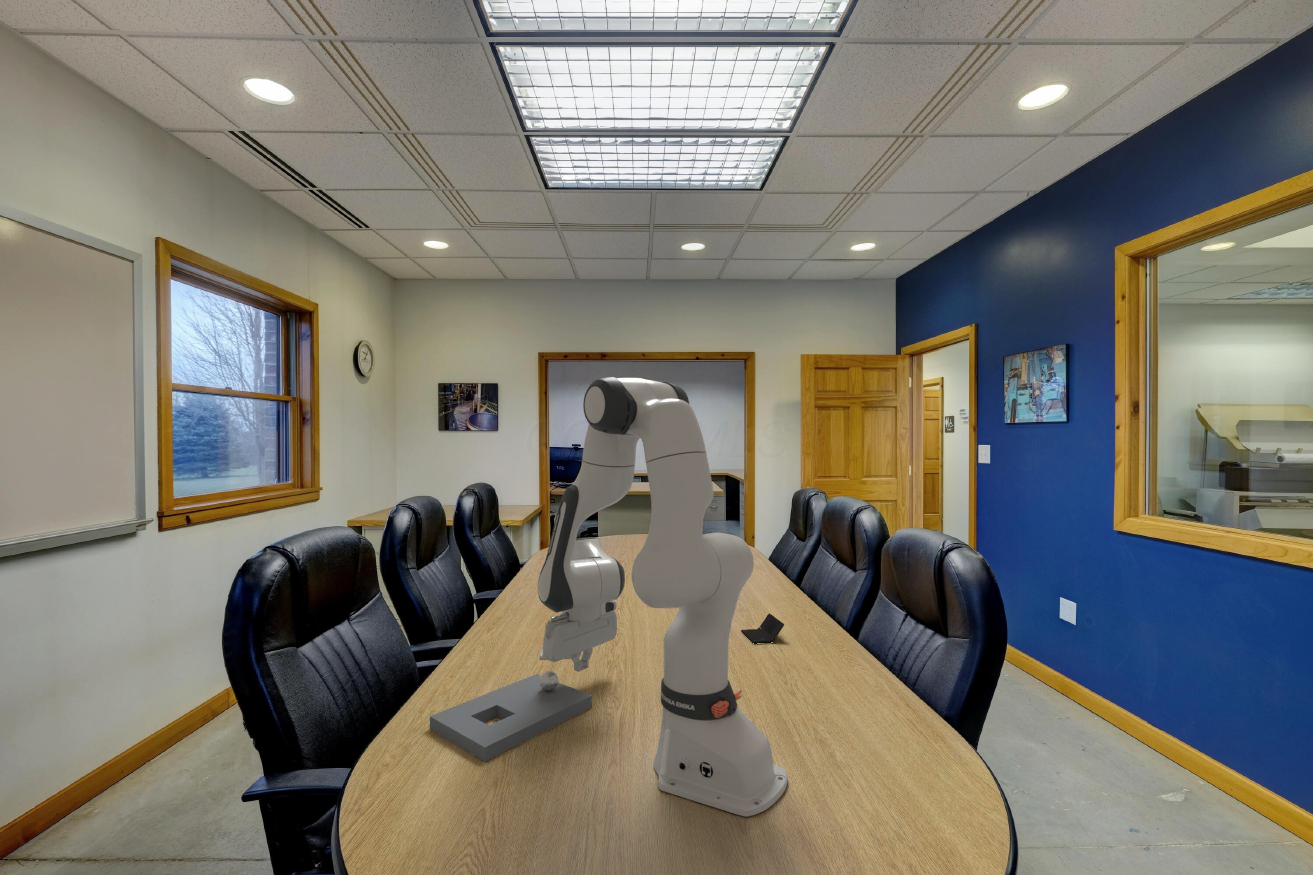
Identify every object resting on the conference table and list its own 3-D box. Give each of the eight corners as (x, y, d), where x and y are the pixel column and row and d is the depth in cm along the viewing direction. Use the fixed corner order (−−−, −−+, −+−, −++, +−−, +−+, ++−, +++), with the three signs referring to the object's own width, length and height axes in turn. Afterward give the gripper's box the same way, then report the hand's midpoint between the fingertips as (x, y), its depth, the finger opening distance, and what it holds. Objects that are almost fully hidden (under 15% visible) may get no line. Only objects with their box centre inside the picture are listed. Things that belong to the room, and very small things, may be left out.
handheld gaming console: (734, 627, 164) (755, 600, 165) (750, 640, 166) (770, 613, 167) (753, 646, 153) (775, 617, 154) (770, 659, 155) (791, 630, 157)
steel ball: (562, 689, 119) (562, 671, 119) (547, 696, 116) (547, 676, 116) (549, 684, 121) (549, 666, 121) (535, 691, 118) (535, 672, 118)
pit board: (591, 707, 116) (592, 695, 116) (484, 762, 96) (484, 747, 96) (536, 684, 127) (536, 673, 127) (429, 729, 107) (429, 716, 107)
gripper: (555, 621, 116) (555, 688, 116) (621, 601, 132) (621, 659, 132) (536, 616, 120) (536, 680, 120) (602, 596, 136) (602, 653, 136)
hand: (581, 669), depth 126 cm, fingers closed
